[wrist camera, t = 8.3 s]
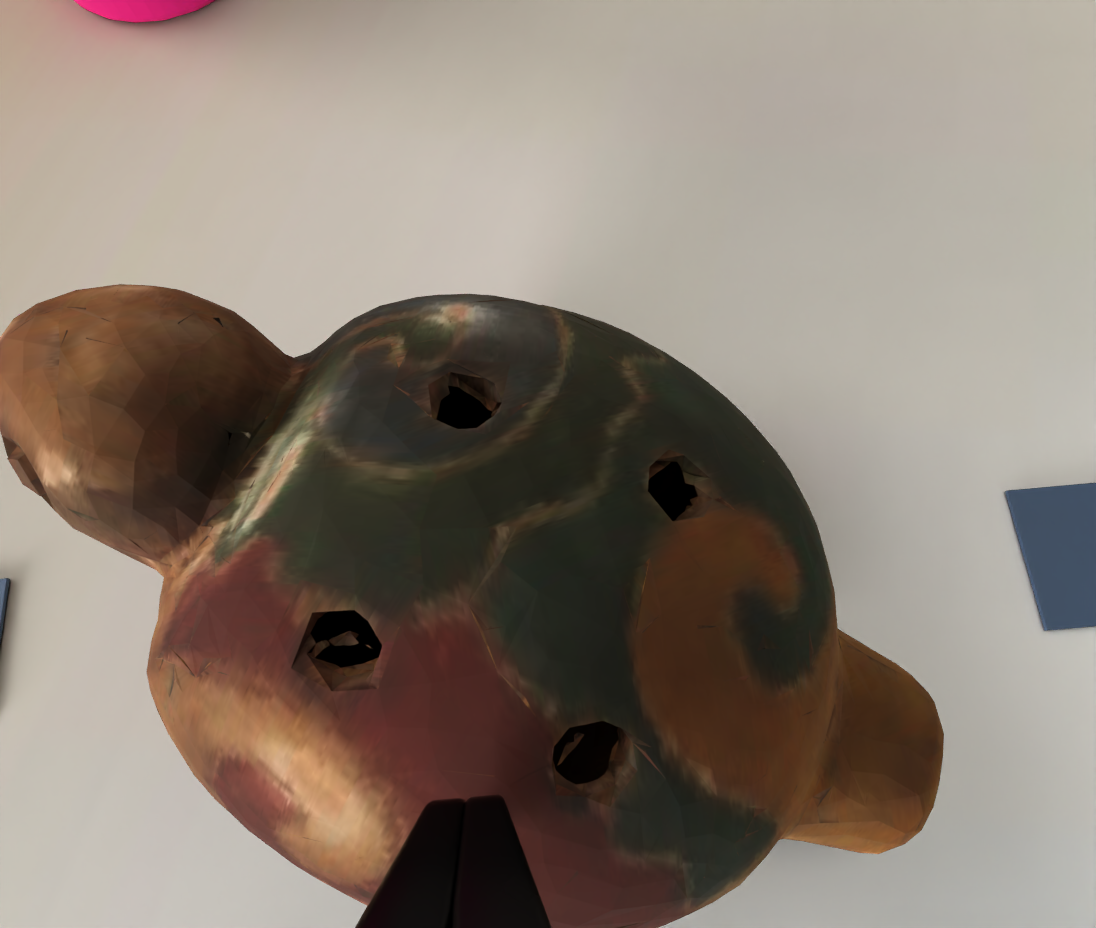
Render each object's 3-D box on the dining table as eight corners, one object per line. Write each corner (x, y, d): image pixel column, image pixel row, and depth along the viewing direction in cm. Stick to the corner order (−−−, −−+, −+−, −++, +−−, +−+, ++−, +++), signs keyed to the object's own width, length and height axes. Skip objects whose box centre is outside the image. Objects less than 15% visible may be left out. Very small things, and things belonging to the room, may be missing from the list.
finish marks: (1434, 596, 16) (1440, 596, 16) (-388, 753, 16) (-394, 753, 16) (1371, 459, 17) (1376, 458, 17) (-346, 610, 17) (-352, 609, 17)
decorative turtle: (264, 331, 19) (103, 47, 11) (870, 526, 18) (1136, 355, 10) (47, 730, 15) (-395, 702, 8) (785, 1002, 14) (1097, 1273, 7)
